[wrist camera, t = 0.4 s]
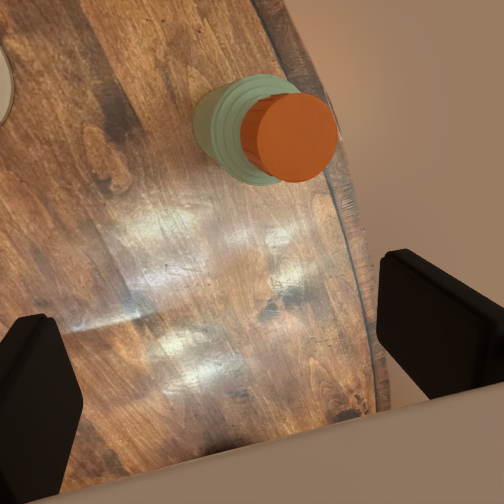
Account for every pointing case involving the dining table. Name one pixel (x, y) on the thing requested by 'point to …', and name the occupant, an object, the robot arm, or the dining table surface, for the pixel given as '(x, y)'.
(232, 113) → the bottle
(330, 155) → the cap
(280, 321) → the dining table surface
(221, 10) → the dining table surface
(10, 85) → the coaster
